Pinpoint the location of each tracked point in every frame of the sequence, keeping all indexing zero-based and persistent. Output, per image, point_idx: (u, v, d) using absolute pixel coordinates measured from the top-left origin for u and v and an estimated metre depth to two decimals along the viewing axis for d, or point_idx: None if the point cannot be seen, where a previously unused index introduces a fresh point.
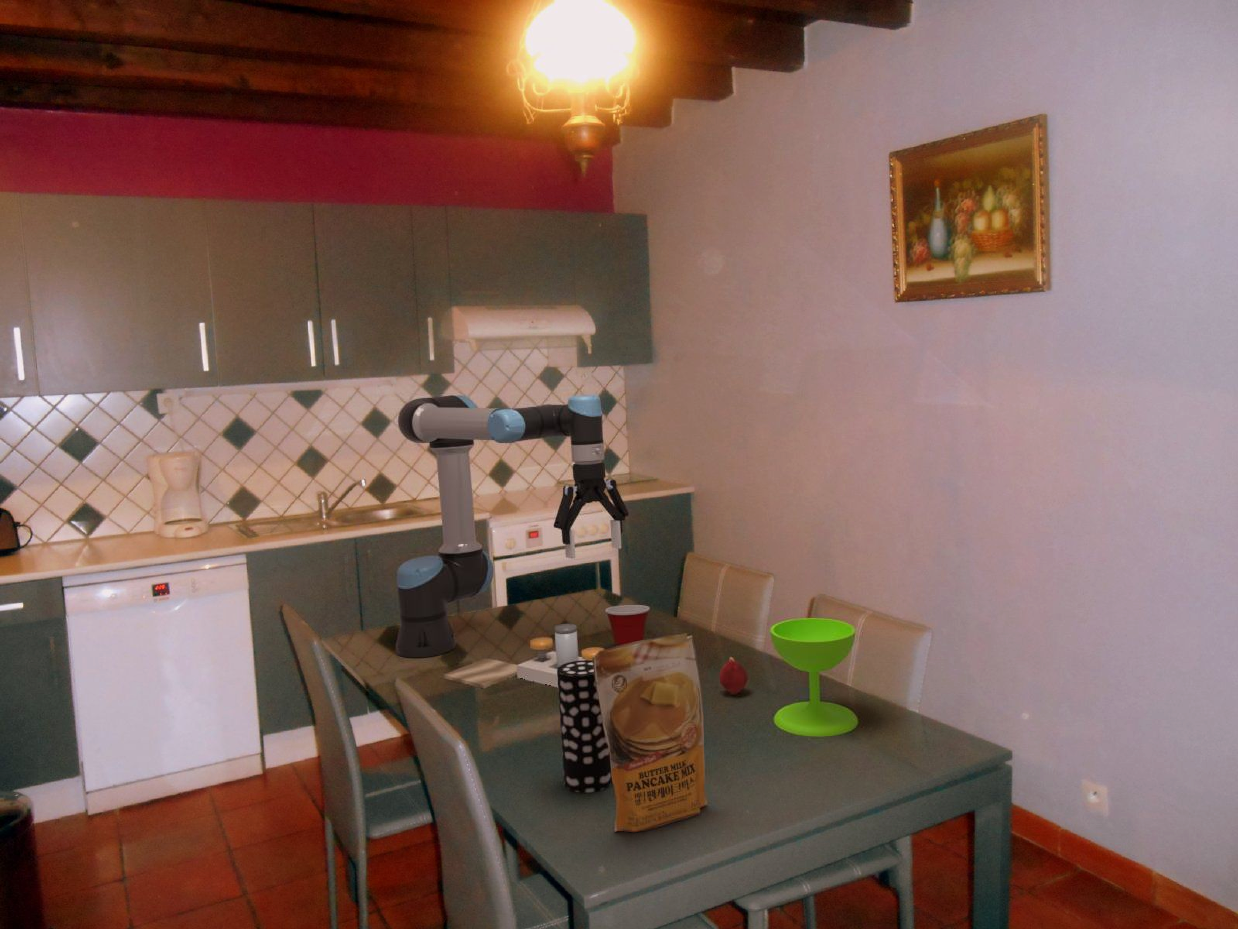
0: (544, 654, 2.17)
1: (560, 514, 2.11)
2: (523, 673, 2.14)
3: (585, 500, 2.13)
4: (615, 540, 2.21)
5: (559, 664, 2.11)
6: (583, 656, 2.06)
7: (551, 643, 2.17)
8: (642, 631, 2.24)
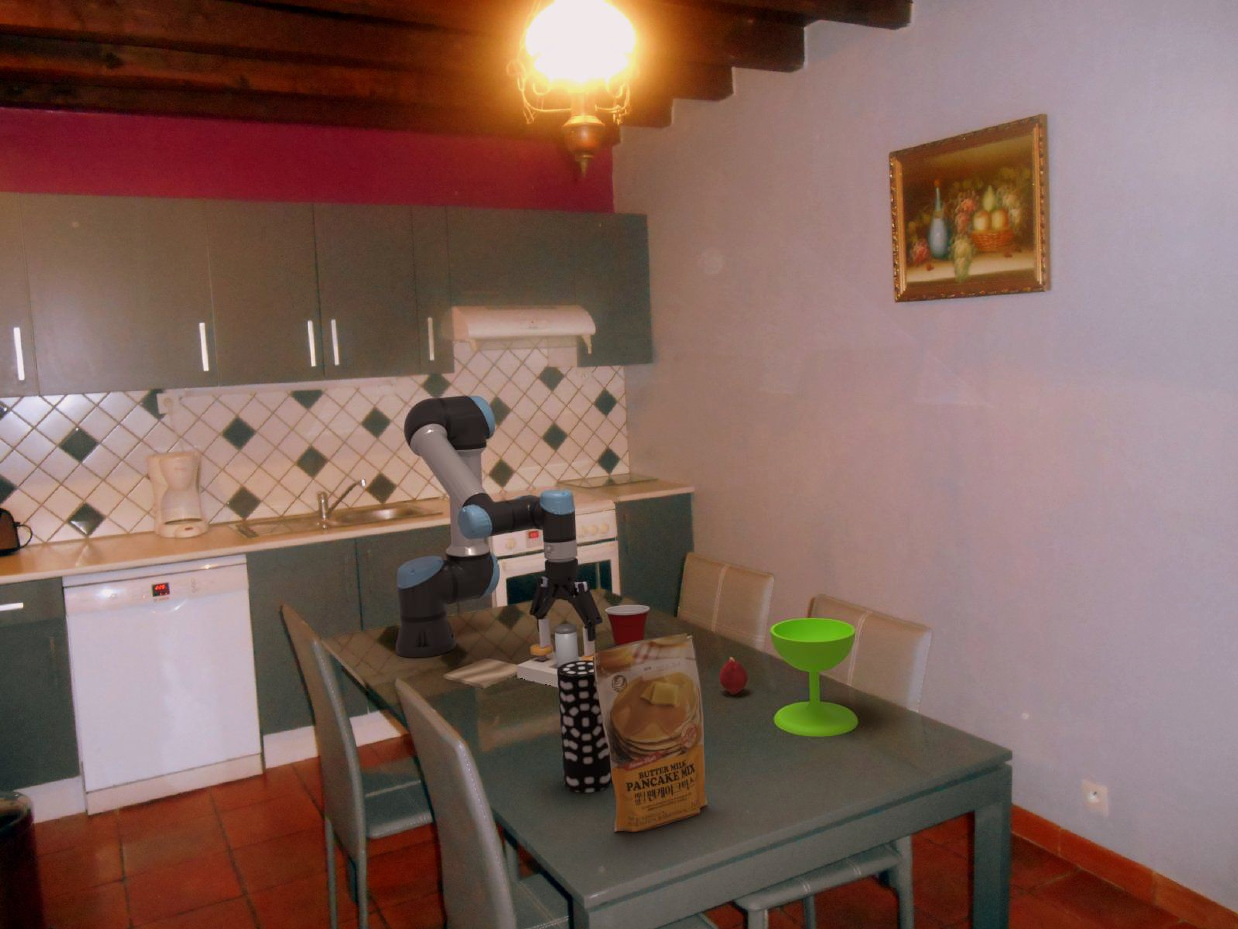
0: (544, 660, 2.17)
1: None
2: (523, 673, 2.14)
3: (549, 595, 2.12)
4: None
5: (559, 664, 2.11)
6: None
7: (551, 649, 2.17)
8: (642, 631, 2.24)
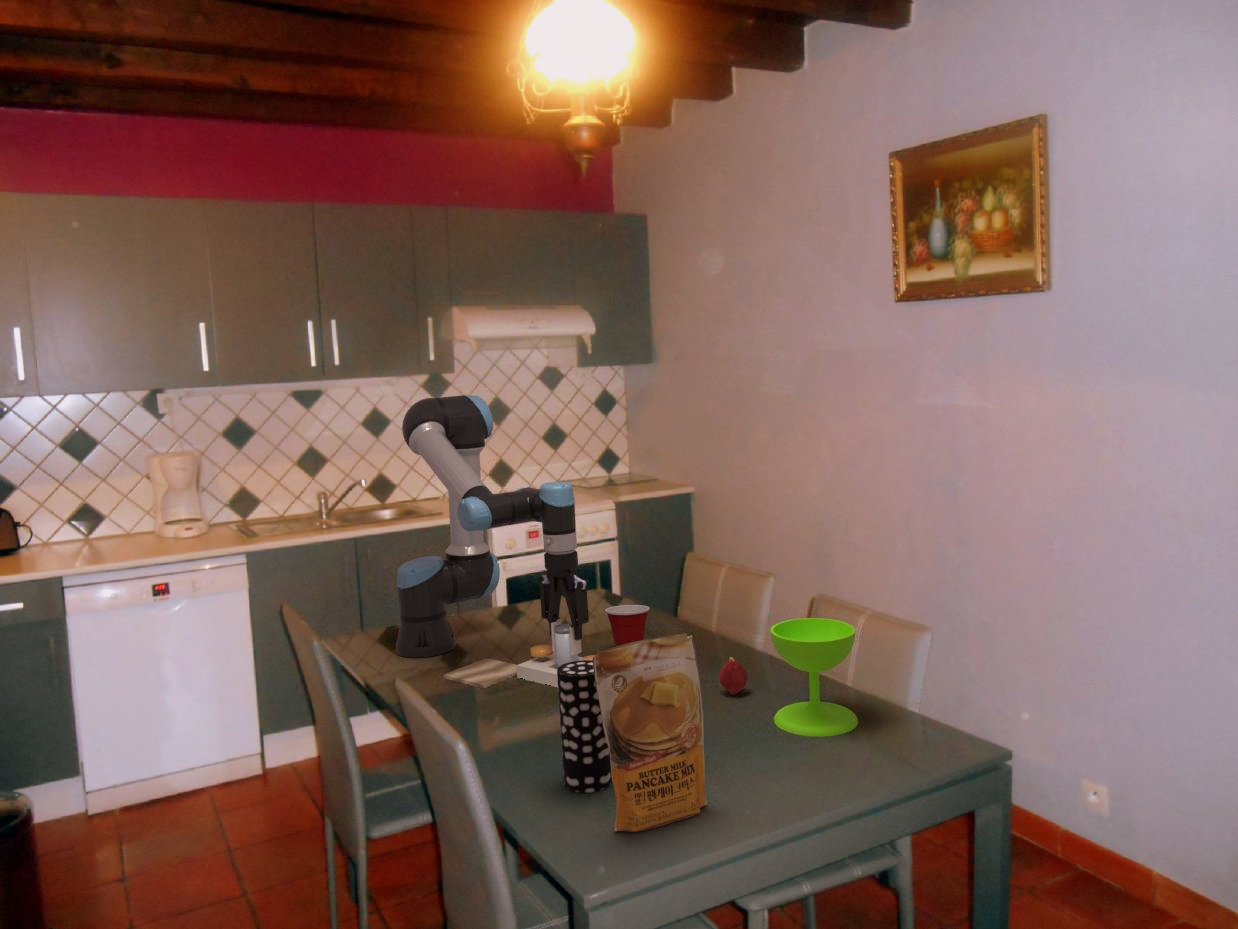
0: (544, 661, 2.17)
1: None
2: (523, 673, 2.14)
3: (552, 590, 2.11)
4: None
5: (559, 664, 2.11)
6: None
7: (551, 650, 2.17)
8: (642, 631, 2.24)
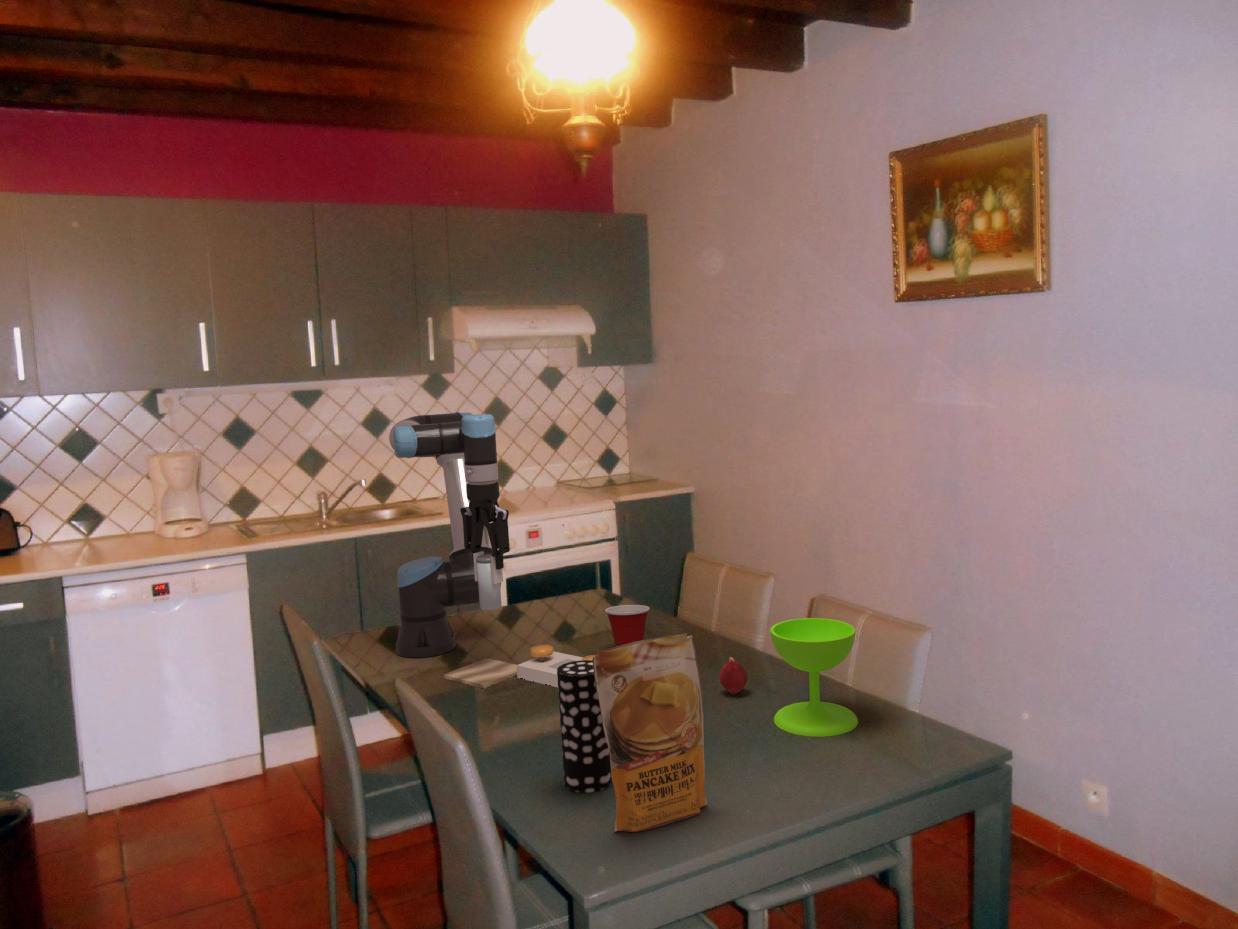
0: (544, 661, 2.17)
1: None
2: (523, 673, 2.14)
3: (473, 521, 2.14)
4: None
5: (481, 593, 2.15)
6: None
7: (551, 650, 2.17)
8: (642, 631, 2.24)
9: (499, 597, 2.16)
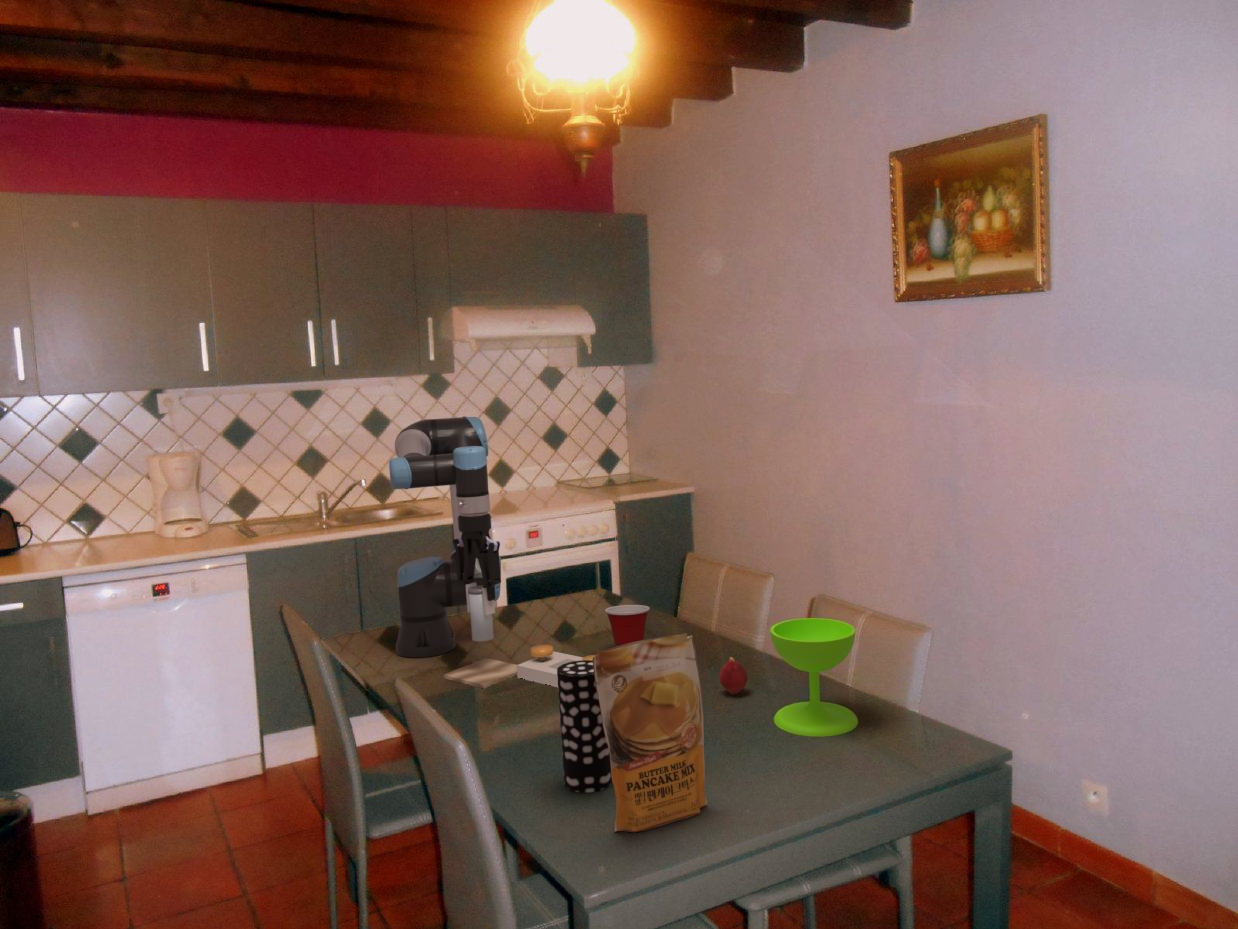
0: (544, 661, 2.17)
1: None
2: (523, 673, 2.14)
3: (465, 552, 2.16)
4: None
5: (473, 624, 2.16)
6: None
7: (551, 650, 2.17)
8: (642, 631, 2.24)
9: (491, 628, 2.17)
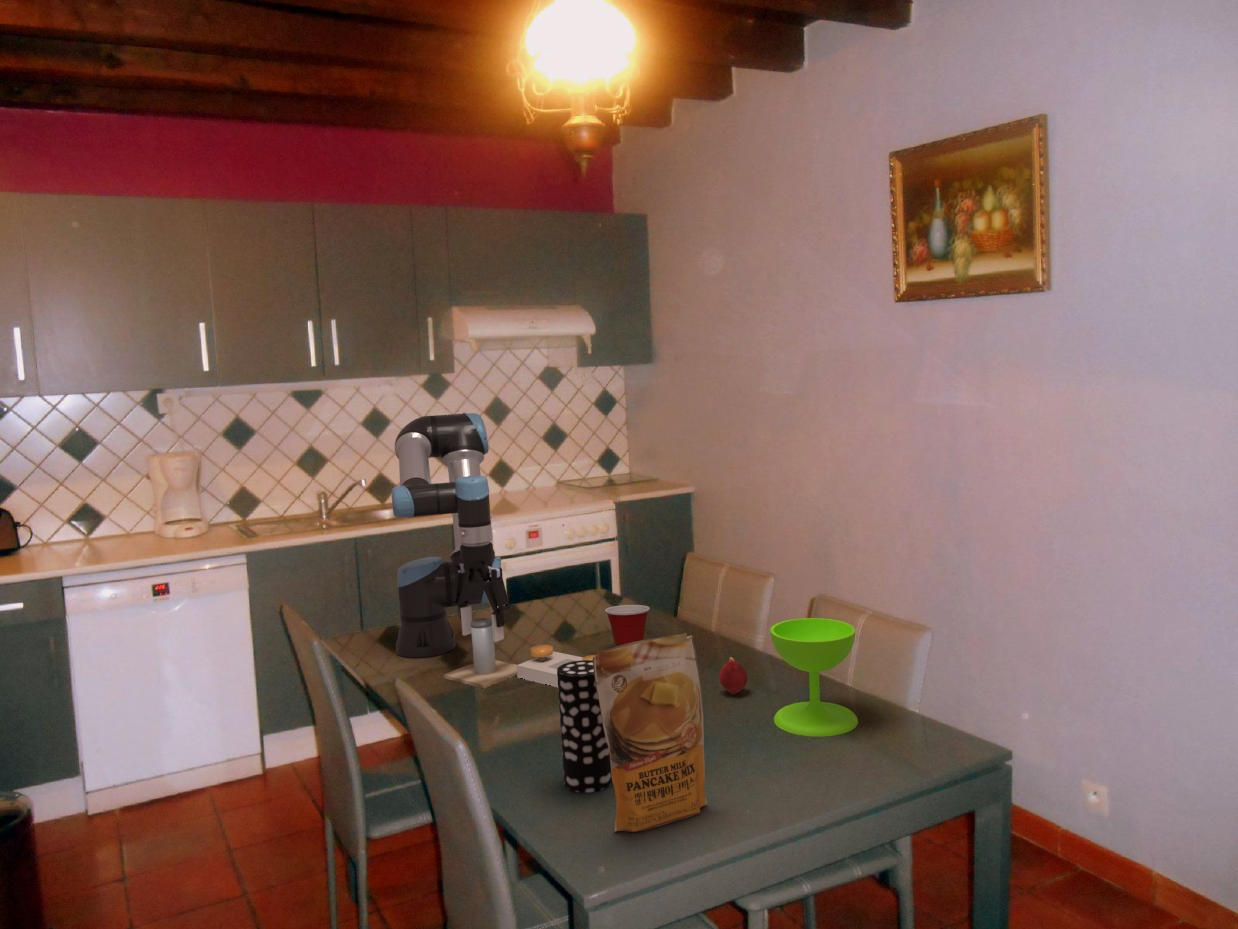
0: (544, 661, 2.17)
1: None
2: (523, 673, 2.14)
3: (466, 580, 2.17)
4: None
5: (475, 657, 2.17)
6: None
7: (551, 650, 2.17)
8: (642, 631, 2.24)
9: (494, 661, 2.18)
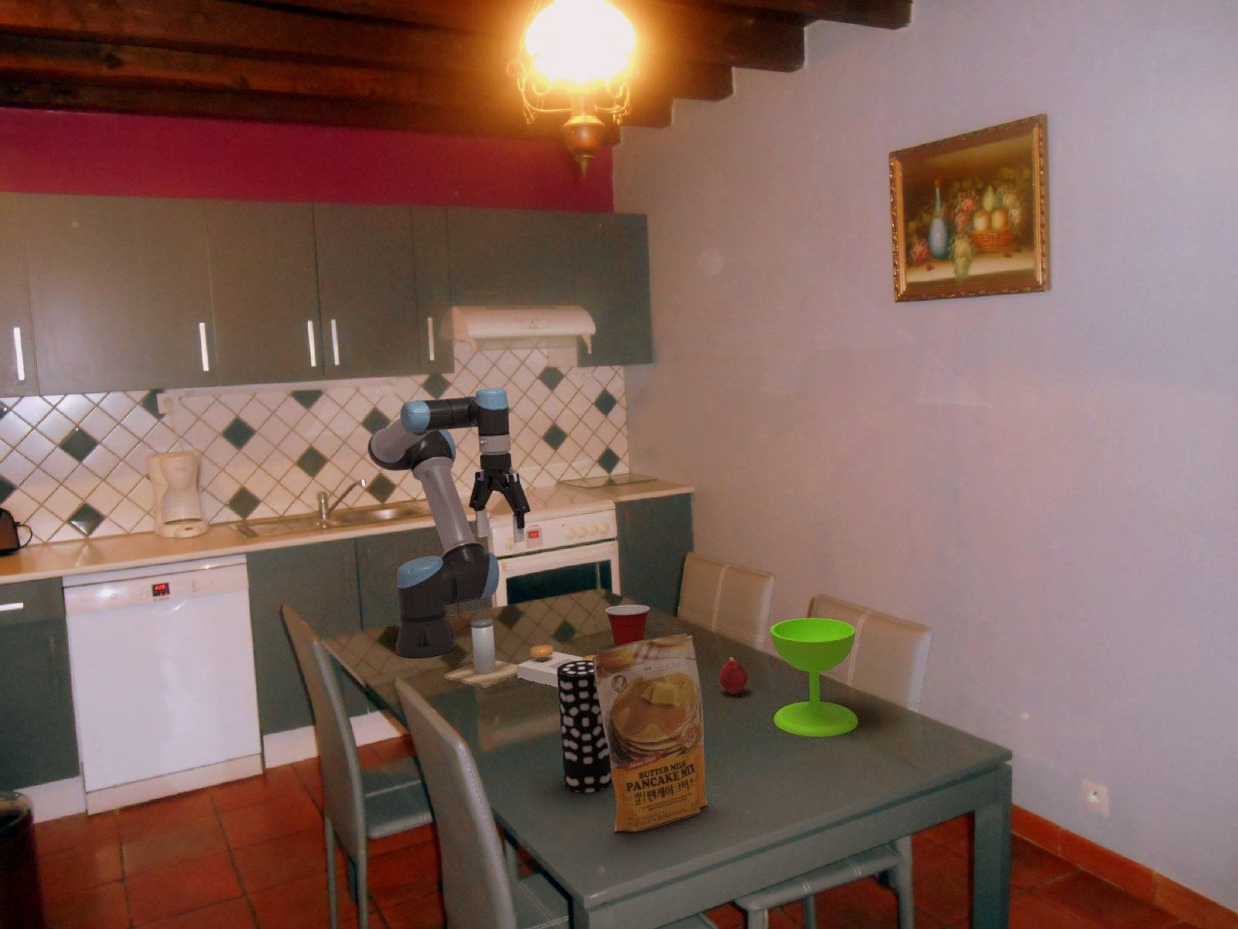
0: (544, 661, 2.17)
1: None
2: (523, 673, 2.14)
3: (484, 487, 2.27)
4: None
5: (475, 657, 2.17)
6: None
7: (551, 650, 2.17)
8: (642, 631, 2.24)
9: (494, 661, 2.18)
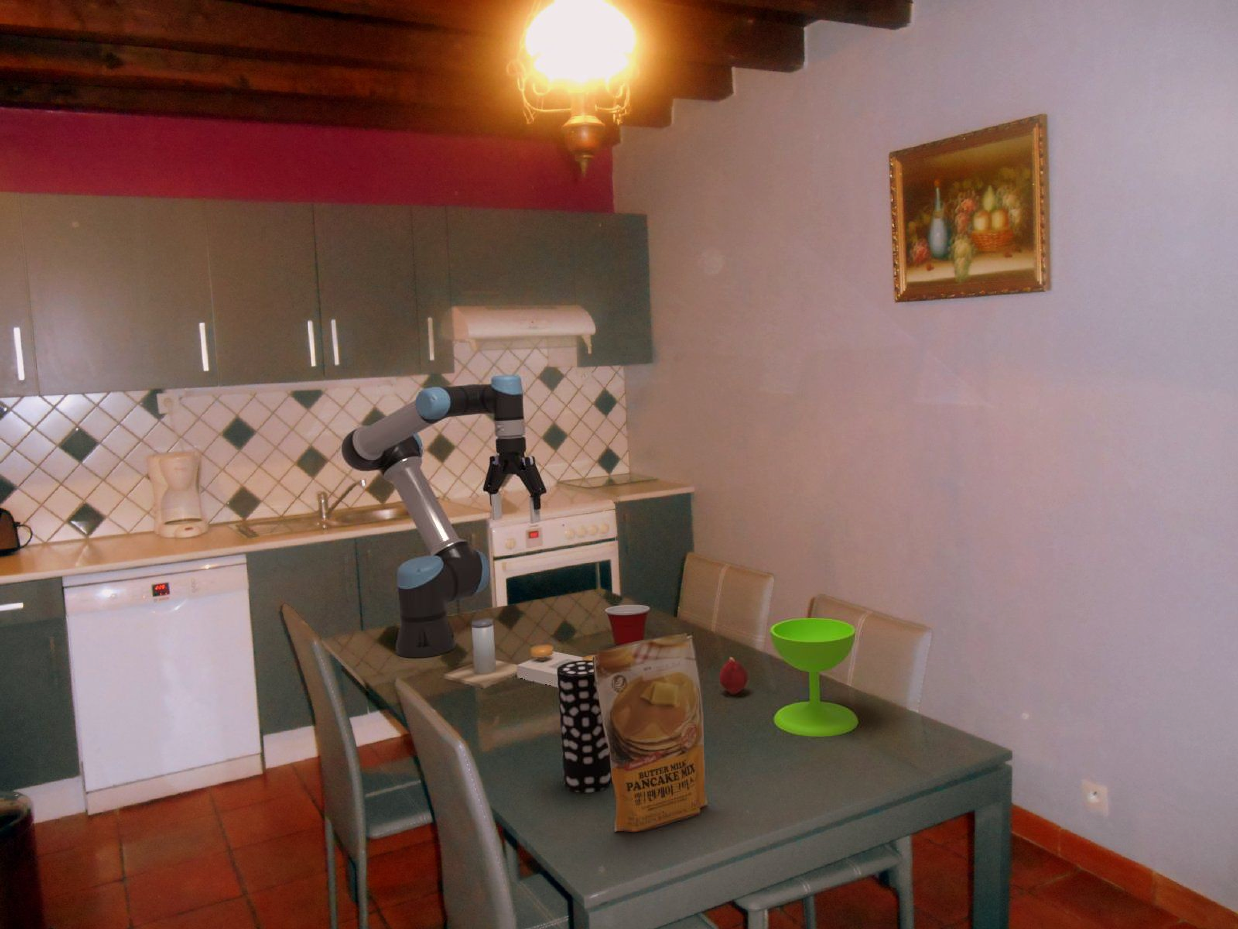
0: (544, 661, 2.17)
1: None
2: (523, 673, 2.14)
3: (499, 470, 2.34)
4: None
5: (475, 657, 2.17)
6: None
7: (551, 650, 2.17)
8: (642, 631, 2.24)
9: (494, 661, 2.18)
